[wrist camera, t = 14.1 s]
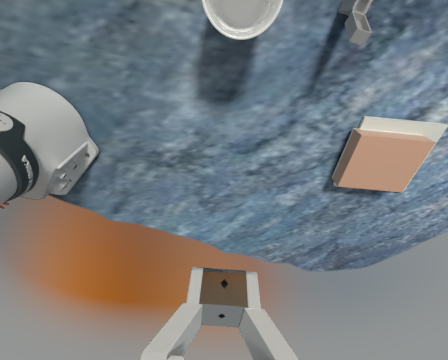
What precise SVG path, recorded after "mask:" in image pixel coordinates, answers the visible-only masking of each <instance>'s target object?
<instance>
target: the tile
mask: <svg viewBox="0 0 448 360" xmlns="http://www.w3.org/2000/svg"><path fill="white" fill-rule="evenodd" d="M435 143H436V142H434V141H433V140H431V139H429V138H427V137H426V136H424V135H419V134H409V133H398V132H388V131H378V130H368V129H358V128H353V130H352V132H351V134H350V136H349V139H348V141H347V143H346V146H345V148H344V150H343V152H342V155H341V157H340V159H339V162H338V164H337V166H336V169H335V171H334V173H333V175H332V179H333V180H334V182H335V183H336V185H337V186H338V187H348V188H360V189H371V190H382V191H393V192H403V190H404V189H405V187H406V186H407V184H408V183H409V181H410V180H411V178H412V177H413V175H414V174H415V173H416V171H417V170H418V168H419V167H420V165H421V164H422V162H423V161H424V159H425V158H426V156H427V155H428V153H429V152H430V150H431V149H432V148H433V146H434V145H435Z"/></svg>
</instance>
